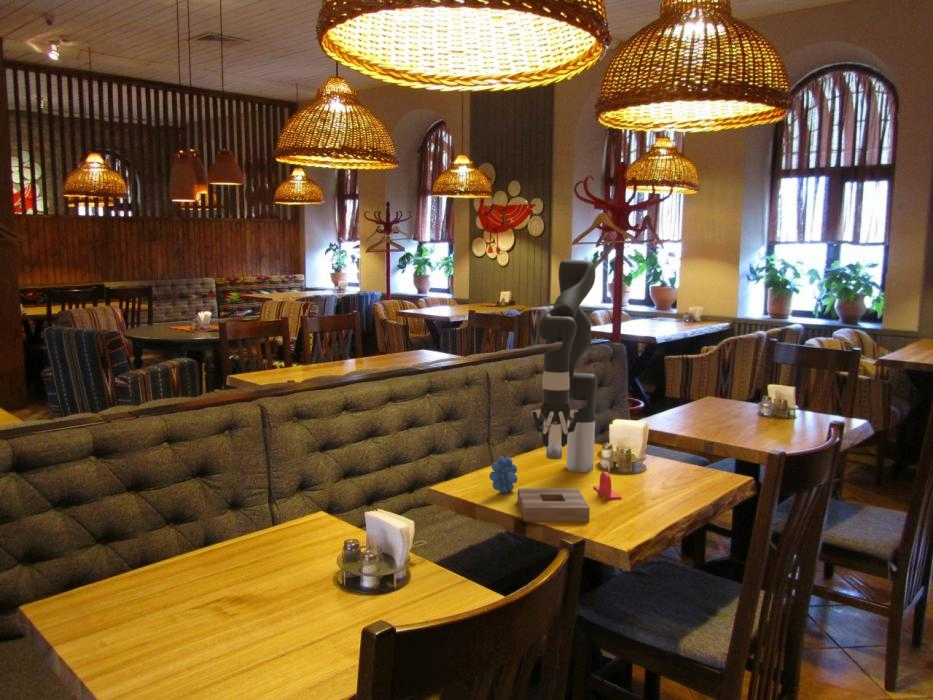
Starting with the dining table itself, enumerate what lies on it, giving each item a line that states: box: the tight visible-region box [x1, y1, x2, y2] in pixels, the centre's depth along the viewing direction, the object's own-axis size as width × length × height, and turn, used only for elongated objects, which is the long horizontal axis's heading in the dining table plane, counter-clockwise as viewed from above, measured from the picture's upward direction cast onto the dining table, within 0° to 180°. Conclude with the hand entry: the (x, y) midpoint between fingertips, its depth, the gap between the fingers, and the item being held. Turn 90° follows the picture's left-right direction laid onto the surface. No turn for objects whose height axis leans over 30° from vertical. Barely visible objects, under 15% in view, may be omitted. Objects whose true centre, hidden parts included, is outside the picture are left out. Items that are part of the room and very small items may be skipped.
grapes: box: [489, 456, 519, 495], centre depth 237 cm, size 12×7×12 cm, turn 133°
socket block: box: [517, 487, 591, 523], centre depth 222 cm, size 18×18×4 cm
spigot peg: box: [545, 422, 563, 461], centre depth 220 cm, size 4×4×10 cm
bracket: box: [592, 471, 622, 501], centre depth 239 cm, size 12×4×8 cm, turn 11°
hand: (554, 445), depth 220 cm, fingers closed on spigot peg, 4 cm apart
